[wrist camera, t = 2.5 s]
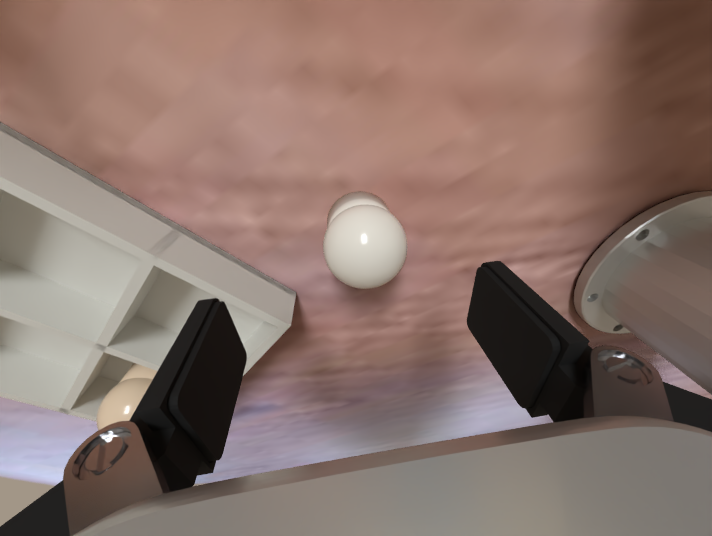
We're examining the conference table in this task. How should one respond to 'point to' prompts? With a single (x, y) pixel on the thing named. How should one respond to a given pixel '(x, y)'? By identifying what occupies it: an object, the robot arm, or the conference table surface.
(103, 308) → the egg tray
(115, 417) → the egg in carton
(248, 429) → the conference table surface
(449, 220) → the conference table surface
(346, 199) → the loose egg
